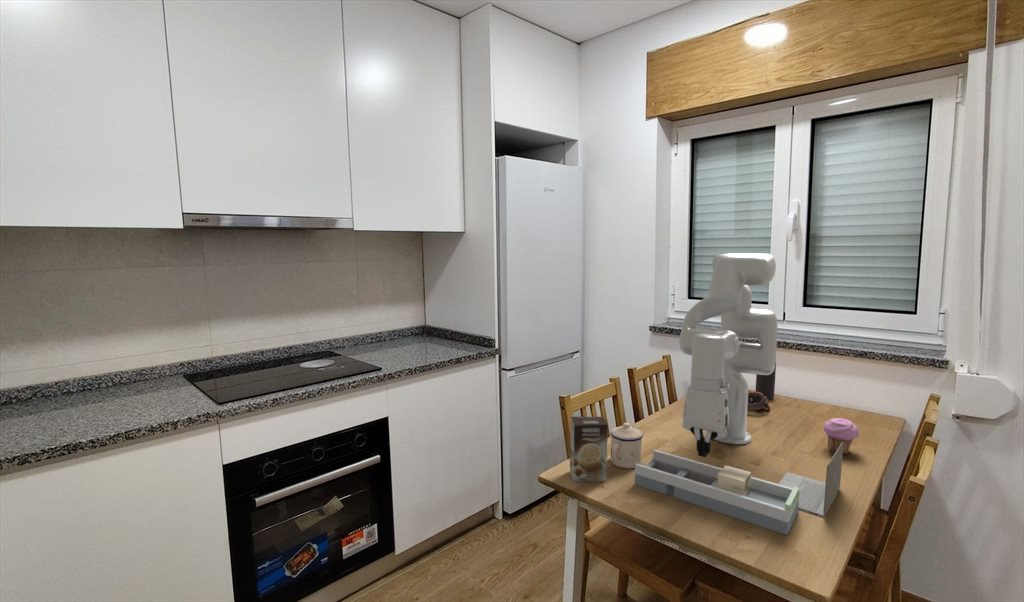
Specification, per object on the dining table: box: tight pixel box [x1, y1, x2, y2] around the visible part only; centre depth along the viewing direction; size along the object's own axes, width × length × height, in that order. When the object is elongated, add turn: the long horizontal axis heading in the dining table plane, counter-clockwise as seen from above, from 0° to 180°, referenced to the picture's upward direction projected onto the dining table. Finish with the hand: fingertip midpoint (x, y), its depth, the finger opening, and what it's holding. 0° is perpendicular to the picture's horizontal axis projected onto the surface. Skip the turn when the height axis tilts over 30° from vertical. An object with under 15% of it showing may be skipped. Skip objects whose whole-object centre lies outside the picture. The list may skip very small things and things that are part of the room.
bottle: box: [754, 362, 777, 401], centre depth 199 cm, size 7×7×20 cm
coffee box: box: [569, 416, 609, 483], centre depth 135 cm, size 9×6×16 cm
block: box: [717, 464, 752, 497], centre depth 121 cm, size 6×6×5 cm
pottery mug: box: [747, 390, 771, 412], centre depth 186 cm, size 12×10×8 cm
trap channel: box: [634, 449, 800, 536], centre depth 124 cm, size 12×36×6 cm, turn 50°
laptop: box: [777, 442, 844, 518], centre depth 125 cm, size 18×12×13 cm
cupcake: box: [823, 417, 860, 455], centre depth 150 cm, size 9×9×10 cm
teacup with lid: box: [610, 422, 644, 469], centre depth 143 cm, size 12×9×12 cm
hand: (703, 454), depth 124 cm, fingers closed
